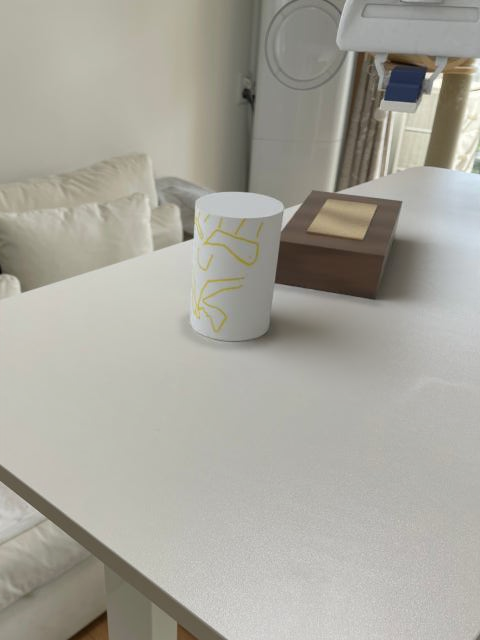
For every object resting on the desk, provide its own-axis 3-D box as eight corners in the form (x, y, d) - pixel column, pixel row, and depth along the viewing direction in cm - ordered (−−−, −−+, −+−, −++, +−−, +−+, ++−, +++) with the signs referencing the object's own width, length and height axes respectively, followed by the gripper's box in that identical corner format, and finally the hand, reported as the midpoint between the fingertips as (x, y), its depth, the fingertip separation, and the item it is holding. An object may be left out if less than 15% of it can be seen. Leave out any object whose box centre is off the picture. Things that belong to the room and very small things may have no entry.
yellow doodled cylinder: (173, 323, 66) (177, 204, 59) (220, 299, 71) (229, 186, 64) (239, 349, 62) (251, 224, 55) (284, 321, 67) (300, 204, 60)
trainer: (388, 98, 95) (395, 64, 93) (421, 101, 94) (429, 66, 92) (379, 110, 87) (386, 73, 85) (414, 113, 86) (423, 75, 83)
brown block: (307, 226, 92) (312, 188, 89) (394, 238, 89) (403, 199, 86) (269, 281, 75) (274, 238, 72) (374, 299, 72) (385, 254, 69)
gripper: (518, -29, 81) (484, 95, 89) (352, -32, 87) (334, 84, 95) (520, -29, 76) (484, 101, 84) (344, -32, 82) (326, 89, 90)
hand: (403, 92), depth 90 cm, fingers closed on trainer, 4 cm apart
